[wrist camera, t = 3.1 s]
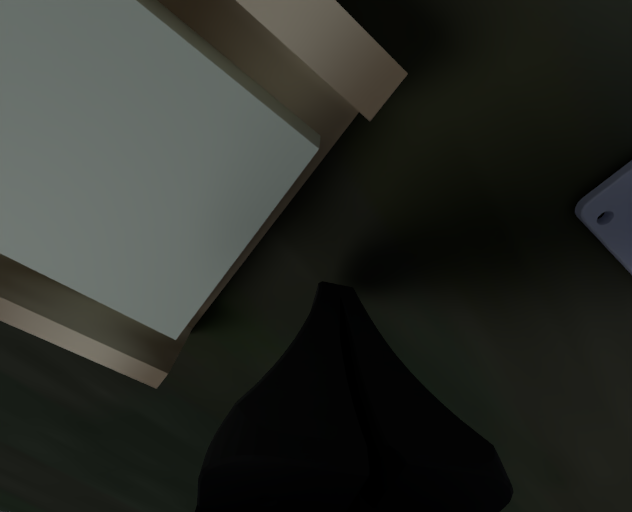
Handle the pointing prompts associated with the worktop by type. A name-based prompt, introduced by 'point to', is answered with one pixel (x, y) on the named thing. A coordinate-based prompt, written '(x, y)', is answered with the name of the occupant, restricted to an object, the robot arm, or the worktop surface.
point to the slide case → (329, 122)
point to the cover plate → (134, 154)
